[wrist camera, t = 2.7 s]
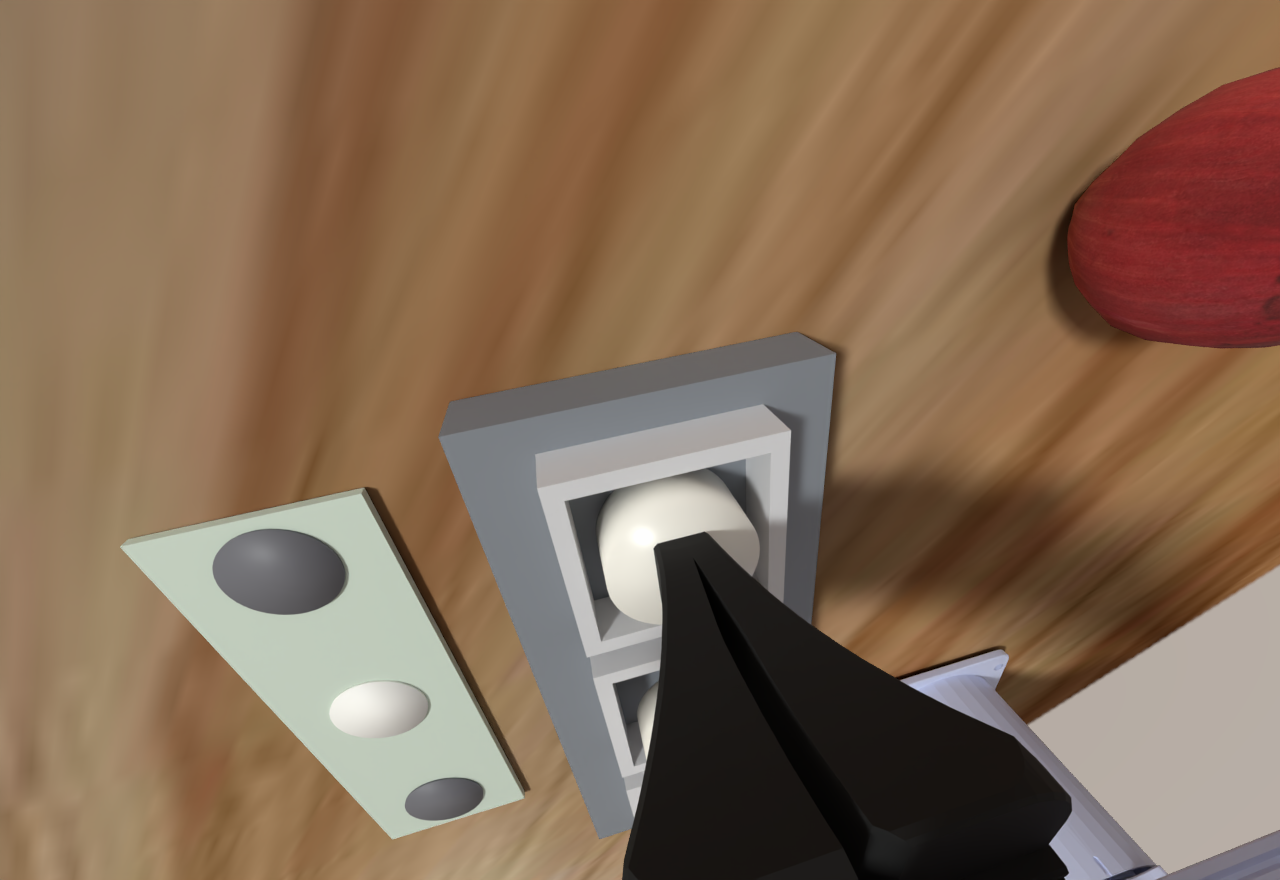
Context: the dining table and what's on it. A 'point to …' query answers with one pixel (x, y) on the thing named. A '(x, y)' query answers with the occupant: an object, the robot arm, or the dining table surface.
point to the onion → (1190, 225)
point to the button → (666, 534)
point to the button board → (619, 457)
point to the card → (339, 653)
